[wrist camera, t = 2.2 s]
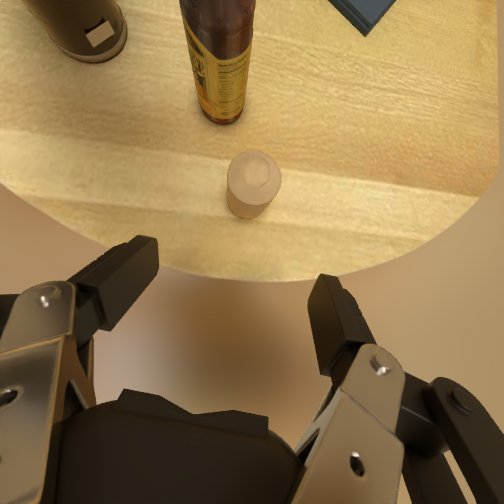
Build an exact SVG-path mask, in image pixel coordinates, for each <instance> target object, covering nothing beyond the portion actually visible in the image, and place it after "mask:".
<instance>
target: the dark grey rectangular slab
mask: <svg viewBox="0 0 504 504" xmlns="http://www.w3.org/2000/svg"><path fill="white" fill-rule="evenodd" d="M329 1H330V2H331V3H332V4H333V5H334V6H335V7H336V8H337V9H338V10H339V11H340V12H341V13H342V14H343V15H344V16H345V17H346V18H347V19H348V20H349V21H350V22H351V23H352V24H353V25H354V26H355V27H356V28H357V29H358V30H359V31H360V32H361V33H362V34H363V35H364V36H366V35H367V34H368V33H369V32H370V31H371V29H372V28H373V27H374V26H375V25H376V23H377V22H378V21H379V20H380V19H381V17H382V16H383V15H384V14H385V13H386V12H387V10H388V9H389V8H390V7H391V6H392V4H393V3H394V2H395V1H396V0H329Z"/></svg>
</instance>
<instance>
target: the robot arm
mask: <svg viewBox="0 0 504 504" xmlns="http://www.w3.org/2000/svg"><path fill="white" fill-rule="evenodd" d="M22 2H23V3H24V4H25V5H26V7H27V8H28V9H29V10H30V12H31V13H32V14H33V15H34V17H35V18H36V19H37V20H38V21H39V23H40V24H41V25H42V26H43V28H44V29H45V30H46V31H47V32H48V34H49V36H50V37H51V39H52V40H53V41H54V42H55V44H56V45H57V46H58V47H59V48H60V49H61V50H62V51H63V52H64V53H66V54H67V55H69V56H70V57H72V58H74V59H77V60H80V61H84V62H100V61H104V60H107V59H109V58H111V57H113V56H114V55H115V54H117V53H118V52H119V50H120V49H121V48H122V46H123V44H124V42H125V39H126V34H127V27H126V22H125V19H124V16H123V14H122V12H121V10H120V8H119V6H118V4H117V3H116V0H22ZM158 269H159V255H158V242H157V239H156V238H152V237H148V236H143V235H137V236H136V237H134V238H133V239H132V240H130V241H129V242H128V243H122V244H120V245H117V246H114V247H112V248H111V249H110V250H108V251H107V252H105V253H104V255H101V256H100V257H98V258H97V260H96V261H95V260H94V261H93V262H91V263H90V264H89V265H87V266H86V267H84V268H83V269H82V270H80V271H79V272H78V273H76V274H75V275H73V276H72V277H71V278H69V279H68V280H66V281H49V282H45V283H41V284H38V285H35V286H33V287H31V288H29V289H27V290H25V291H24V292H22V294H7V295H6V294H4V295H0V504H397V497H398V491H399V484H400V476H401V472H402V475H403V478H404V481H405V484H406V487H407V490H408V493H409V495H410V499H411V501H412V504H468V503H467V501H466V499H465V497H464V495H463V493H462V491H461V489H460V487H459V485H458V483H457V481H456V479H455V477H454V475H453V473H452V471H451V469H450V466H449V464H448V462H447V460H446V458H445V456H444V454H443V453H444V452H446V451H448V450H451V452H452V454H453V456H454V458H455V460H456V462H457V464H458V466H459V468H460V470H461V472H462V473H463V476H464V477H465V479H466V481H467V483H468V485H469V487H470V489H471V491H472V493H473V495H474V497H475V500H476V503H477V504H504V434H503V433H502V432H501V430H500V429H499V427H498V426H497V424H496V423H495V422H494V420H493V419H492V418H491V417H490V415H489V413H488V412H487V411H486V409H485V408H484V407H483V406H482V404H481V403H480V402H479V401H478V400H477V399H476V397H475V396H473V394H471V393H470V392H469V391H468V390H467V389H465V388H464V387H462V386H461V385H460V384H458V383H456V382H454V381H452V380H450V379H448V378H444V377H438V378H436V379H434V380H433V381H432V382H431V383H427V382H425V381H423V380H421V379H418V378H417V377H414V376H412V375H410V374H408V373H406V372H404V370H403V368H402V366H401V365H400V363H399V362H398V361H397V359H396V358H395V357H394V356H393V355H392V354H391V353H389V352H388V351H387V350H385V349H384V348H382V347H379V346H377V344H376V342H375V339H374V337H373V335H372V333H371V331H370V329H369V327H368V325H367V323H366V321H365V319H364V317H363V316H362V313H361V311H360V309H359V308H358V304H357V302H356V300H355V298H354V297H353V296H352V295H351V294H350V293H349V292H348V291H347V290H346V289H343V288H342V285H341V283H340V281H339V279H338V277H336V276H331V275H326V274H320V275H319V276H318V278H317V281H316V283H315V285H314V287H313V289H312V291H311V294H310V296H309V299H308V313H309V318H310V324H311V329H312V334H313V339H314V344H315V350H316V354H317V360H318V365H319V370H320V375H324V376H329V377H331V380H332V385H331V386H330V387H329V389H328V391H327V393H326V395H325V397H324V399H323V400H322V402H321V404H320V406H319V408H318V410H317V412H316V413H315V415H314V417H313V419H312V421H311V423H310V425H309V427H308V428H307V430H306V432H305V433H304V434H303V436H302V437H301V439H300V441H299V442H298V444H297V445H296V447H295V449H294V451H293V450H292V448H290V446H289V445H288V444H287V443H286V442H285V441H284V440H283V439H282V438H281V437H279V436H278V435H277V434H276V433H274V432H273V431H271V430H269V429H268V417H266V416H261V415H256V414H251V413H246V412H241V411H236V410H229V411H220V412H213V413H204V414H191V413H189V412H188V411H186V410H184V409H182V408H180V407H179V406H177V405H175V404H174V403H172V402H170V401H168V400H167V399H165V398H163V397H161V396H159V395H155V394H149V393H144V392H139V391H134V390H129V389H123V391H122V393H121V394H120V396H119V398H118V400H114V401H109V402H105V403H101V404H98V405H96V397H95V392H94V385H93V367H94V364H93V363H94V358H93V357H94V352H93V351H94V339H93V335H94V333H95V332H96V331H97V330H98V329H100V330H105V331H111V330H112V329H113V328H114V327H115V325H116V324H117V323H118V322H119V320H120V319H121V318H122V317H123V316H124V314H125V313H126V312H127V311H128V309H129V308H130V307H131V306H132V305H133V303H134V302H135V301H136V300H137V298H138V297H139V296H140V295H141V293H142V292H143V291H144V290H145V288H146V287H147V286H148V285H149V284H150V283H151V281H152V280H153V279H154V278H155V276H156V275H157V272H158Z"/></svg>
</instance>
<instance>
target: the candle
mask: <svg viewBox="0 0 504 504" xmlns="http://www.w3.org/2000/svg"><path fill="white" fill-rule="evenodd" d="M280 186H281V171H280V168H279V166H278V164H277V163H276V161H275V160H274V159H273V158H272V157H271V156H269V155H268V154H266V153H264V152H261V151H256V150H250V151H245V152H243V153H241V154H239V155H237V156H236V157H235V158H234V159H233V160H232V162H231V164H230V165H229V168H228V172H227V194H228V204H229V207H230V209H231V210H232V212H233V213H234V214H235V215H237V216H239V217H241V218H244V219H251V218H255V217H257V216H258V215H260V214H261V213H262V212H263V211H264V209H265V208H266V207H267V206H268V204H269V203H270V202H271V201H272V199H273V198H274V197H275V196H276V194H277V193H278V191H279V189H280Z"/></svg>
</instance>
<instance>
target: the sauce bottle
mask: <svg viewBox="0 0 504 504" xmlns="http://www.w3.org/2000/svg"><path fill="white" fill-rule="evenodd" d="M179 2H180V8H181V13H182V18H183V23H184V28H185V33H186V39H187V44H188V49H189V55H190V59H191V64H192V69H193V74H194V79H195V84H196V90H197V95H198V100H199V102H200V105H201V106H202V109H203V111H204V113H205V114H206V115H207V117H208V118H210V119H211V120H213V121H216V122H218V123H229V122H232V121H234V120H235V119H237V118H238V117H239V116H240V114H241V112H242V108H243V105H244V102H245V94H246V86H247V79H248V70H249V62H250V54H251V46H252V38H253V18H254V10H255V3H256V0H179Z"/></svg>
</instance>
